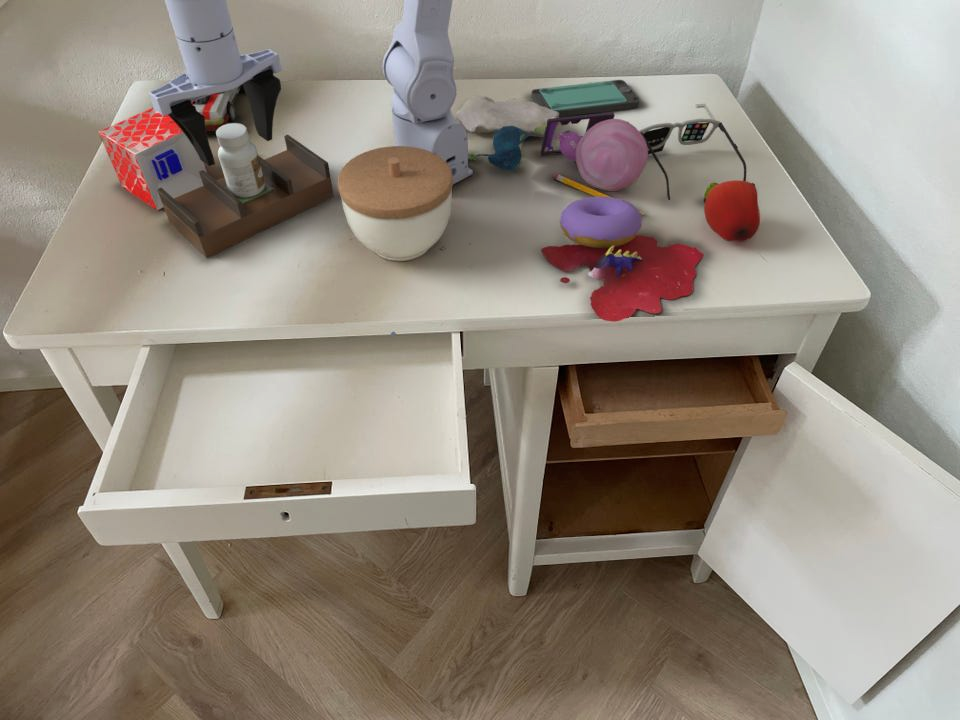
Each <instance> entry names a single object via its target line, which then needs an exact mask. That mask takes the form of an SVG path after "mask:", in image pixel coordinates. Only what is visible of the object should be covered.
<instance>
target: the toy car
mask: <svg viewBox="0 0 960 720" xmlns="http://www.w3.org/2000/svg"><path fill="white" fill-rule="evenodd" d="M240 91H242V92H245V90H244V87H243V85H242V84H241V85H240V86H238V87H236V88H234V89H231V90H228V91H224V92H219V93H214V94H211V95H208V96H206V97H203V98H200V99H198V100H195V101H193V102H191V103H192V105H193V106H195V107H196V110H197V111H198V112H199V113H200V114H202V115H203V116H205V127H206V131H217V129H218V128H220V127H221V126H223V125H226V124H228V123H235V121H236V109H235V106H234V102H235V100H236V98H237V96H238V95H239V92H240Z"/></svg>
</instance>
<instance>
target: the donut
mask: <svg viewBox="0 0 960 720" xmlns="http://www.w3.org/2000/svg"><path fill="white" fill-rule="evenodd" d="M611 197H612V196H610V197H595V196H591V197H590V196H589V197H584V198H580V199H577V200H574V201H572V202H571V203H569V204H568V205H566V207H565V208H564V209H563V210H562V212H561V215H560V217H559V224H560V229H561V231H562V232H563V235H564V236H565V237H566V238H568V240H570V241H571V242H573V243H574V244H577V245H583V246H587V247H593V248H610V247H612V246H614V245H615V247H617V246H620V245H623V244H626V243H628V242H629V241H631V240H633V239H634V238H635V237H636V235H639V233H640V230H641V228H642V225H643V219H642V214H640V213H639V211H638V210H639V209H638V208H637V207H636V206H635V205H633V204H632V203H631V202H629V201H626V200H624V199H622V198H621V199H620V198H617V197H612V198H611Z"/></svg>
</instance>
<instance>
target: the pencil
mask: <svg viewBox="0 0 960 720" xmlns="http://www.w3.org/2000/svg"><path fill="white" fill-rule="evenodd" d="M553 179H554V180H556V181H558V182H561V183H563V184H565V185H567V186H569V187H572V188H575V189H577V190H579V191H581V192H584V193H586V194H588V195H591V196H592V197H611V198H613V197H612V196H610V195H607V194H605V193H603V192H600V191H598V190H595V189H594V188H591V187H589V186H587V185H584V184H582V183H579V182H578V181H575V180H572V179H571V178H568V177H566V176H563V175H561V174H559V173H555V174H554V175H553ZM638 211H639V213H640V215H642V216H643V215H645V213H644V212H643V211H641V210H640V209H638Z"/></svg>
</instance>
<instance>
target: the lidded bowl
mask: <svg viewBox="0 0 960 720" xmlns="http://www.w3.org/2000/svg"><path fill="white" fill-rule="evenodd" d="M453 185H454V184H453V175H452V171H451V169H450V167H449V165H448V164H447V163H446V162H445V161H444V160H443V159H442V158H441V157H440V156H438V155H436V154H434V153H432V152H430V151H428V150H424V149H420V148H415V147H408V146H395V145H392V146H391V145H390V146H384V147H378V148H374V149H370V150H367V151H365V152H362V153H360V154H357V155H356V156H354V157H353V158H351V159H350V160H349V161H348V162H347V163H345V165H344V166H343V167H342V168H341V170H340V172H339V174H338V178H337V188H338V192H339V196H340V199H341V204H342V208H343V212H344V215H345V218H346V221H347V224H348V226H349V228H350V230H351V232H352V233H353V235H354V236H355V238H356V239H357V240H358V241H359V242H360V243H361V244H362V245H363V246H364V247H365V248H367V249H368V250H370V251H372V253H375V254H376V255H377V256H379V257H381V258H383V259H385V260H388V261H394V262H406V261H411V260H415V259H417V258H420V257H422V256H423V255H425V254H426V253H427V252H428V251H429V249H431V248H432V247H433V246H435V244H436V243H437V242H438V241H439V240H440V239H441V237H442V236H443V234H444V233H445V231H446V229H447V227H448V223H449V222H450V221H449V220H450V217H451V211H452V200H453Z"/></svg>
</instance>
